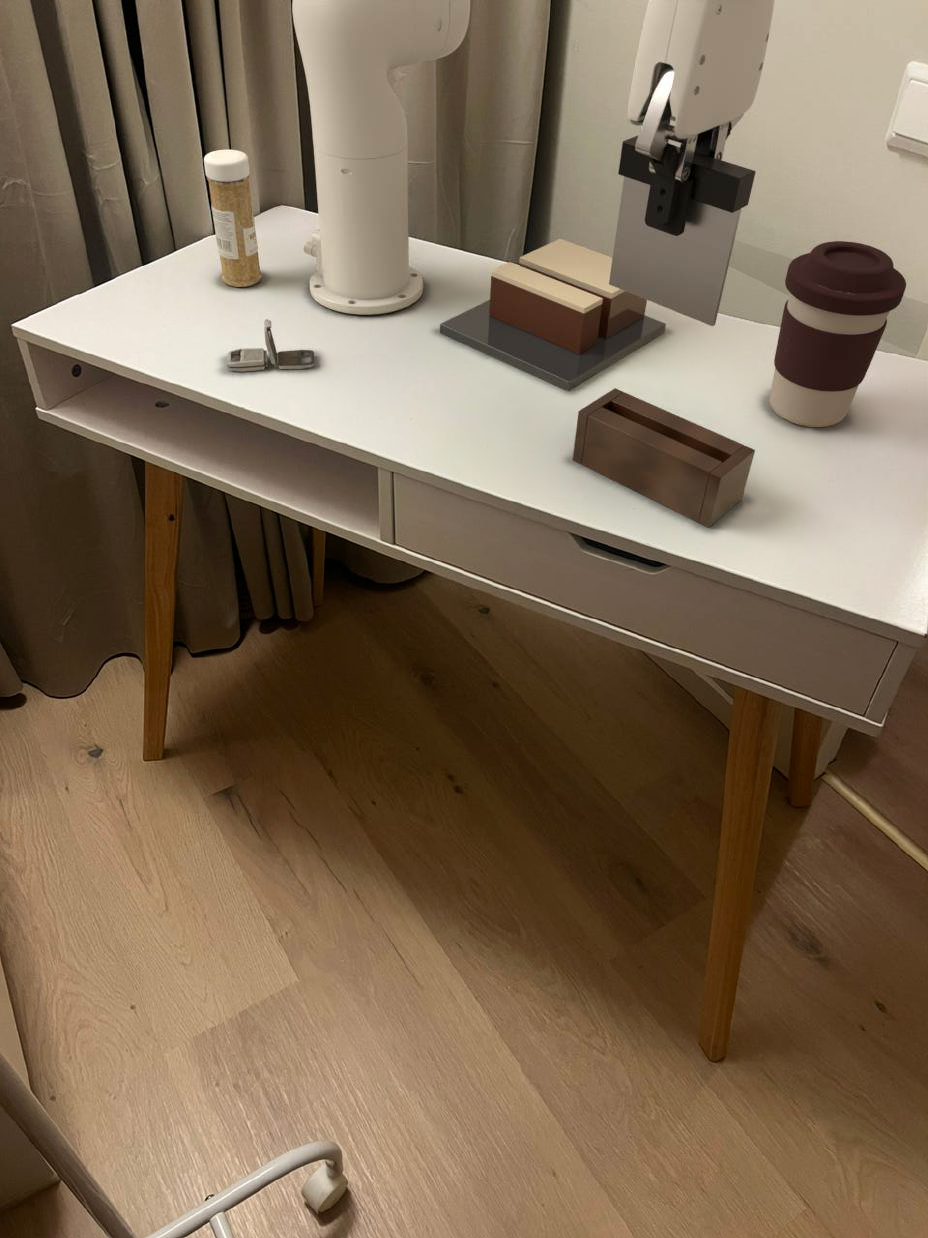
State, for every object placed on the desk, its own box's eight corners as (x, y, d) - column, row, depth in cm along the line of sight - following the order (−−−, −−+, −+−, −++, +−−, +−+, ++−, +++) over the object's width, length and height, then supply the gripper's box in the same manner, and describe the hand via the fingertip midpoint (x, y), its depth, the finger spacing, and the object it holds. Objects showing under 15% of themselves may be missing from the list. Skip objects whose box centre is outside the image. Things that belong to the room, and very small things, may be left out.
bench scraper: (601, 287, 81) (622, 140, 73) (617, 279, 82) (639, 134, 74) (706, 330, 76) (740, 178, 69) (721, 321, 78) (756, 170, 70)
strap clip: (227, 373, 97) (221, 332, 94) (228, 357, 99) (222, 318, 96) (315, 368, 98) (311, 329, 95) (314, 353, 100) (310, 314, 97)
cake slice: (488, 315, 105) (491, 270, 102) (507, 306, 107) (509, 261, 104) (579, 354, 100) (584, 307, 96) (597, 344, 101) (603, 298, 98)
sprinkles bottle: (269, 282, 112) (255, 157, 103) (231, 291, 110) (213, 165, 101) (251, 267, 115) (236, 144, 105) (214, 276, 113) (196, 151, 104)
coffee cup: (782, 372, 100) (823, 223, 90) (876, 406, 96) (930, 254, 86) (735, 411, 95) (773, 256, 84) (833, 449, 90) (885, 292, 80)
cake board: (439, 332, 104) (440, 277, 100) (540, 282, 114) (544, 230, 110) (567, 391, 96) (574, 333, 92) (664, 332, 106) (674, 278, 102)
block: (572, 460, 88) (578, 410, 84) (607, 436, 91) (615, 387, 87) (708, 527, 81) (721, 477, 78) (742, 499, 84) (755, 449, 81)
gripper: (742, -91, 68) (690, 183, 81) (604, -64, 60) (570, 239, 72) (842, -73, 65) (771, 210, 78) (711, -42, 56) (656, 272, 69)
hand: (675, 222), depth 75 cm, fingers closed on bench scraper, 2 cm apart
